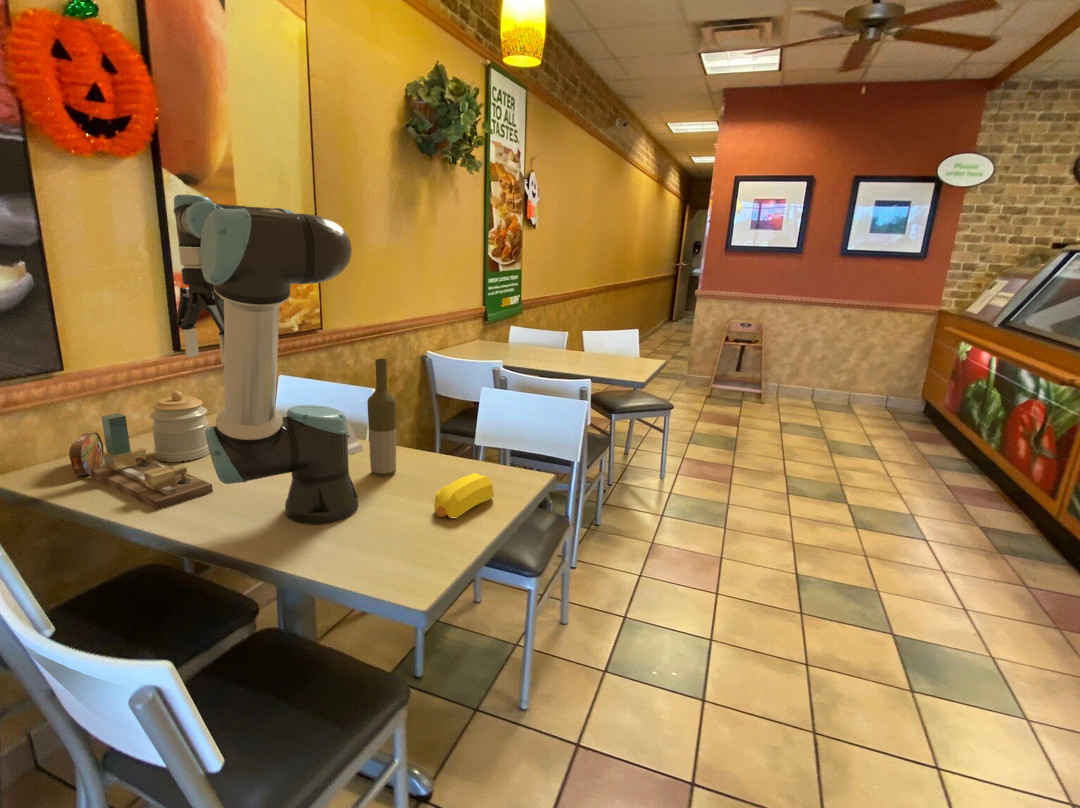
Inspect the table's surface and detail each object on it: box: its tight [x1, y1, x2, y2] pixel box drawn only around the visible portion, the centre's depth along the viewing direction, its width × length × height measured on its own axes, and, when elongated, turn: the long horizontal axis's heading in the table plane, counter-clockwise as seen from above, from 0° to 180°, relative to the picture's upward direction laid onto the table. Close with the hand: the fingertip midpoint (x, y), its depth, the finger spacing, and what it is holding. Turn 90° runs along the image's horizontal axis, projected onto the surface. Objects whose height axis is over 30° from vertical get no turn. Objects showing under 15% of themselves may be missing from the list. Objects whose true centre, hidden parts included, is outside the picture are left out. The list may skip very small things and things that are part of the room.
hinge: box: [346, 422, 364, 456], centre depth 159 cm, size 17×5×10 cm, turn 156°
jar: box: [149, 390, 210, 463], centre depth 153 cm, size 13×13×18 cm
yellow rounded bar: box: [433, 472, 494, 518], centre depth 132 cm, size 18×7×8 cm
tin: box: [68, 431, 105, 477], centre depth 142 cm, size 15×3×8 cm, turn 22°
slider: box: [101, 412, 147, 470], centre depth 138 cm, size 5×8×13 cm, turn 149°
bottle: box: [366, 358, 397, 477], centre depth 145 cm, size 7×7×30 cm
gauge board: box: [90, 455, 214, 511], centre depth 135 cm, size 30×12×6 cm, turn 59°
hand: (210, 359), depth 136 cm, fingers open, 13 cm apart
